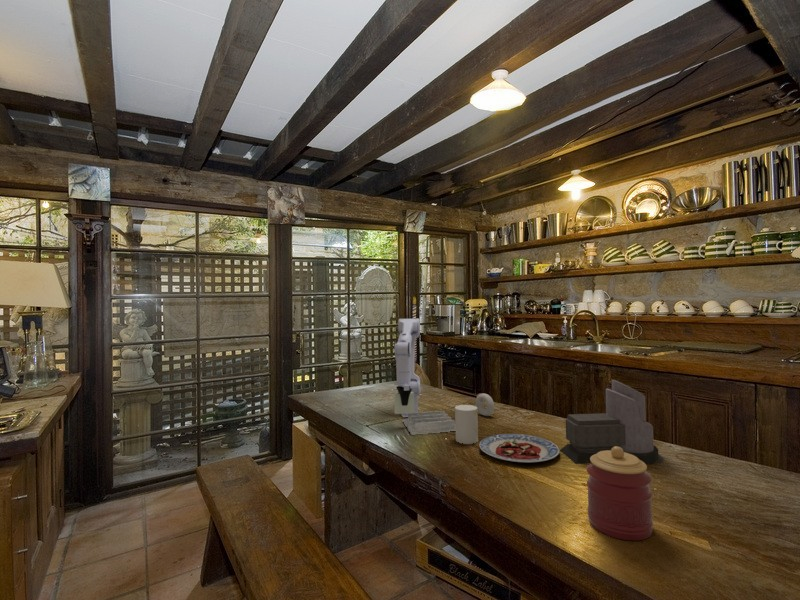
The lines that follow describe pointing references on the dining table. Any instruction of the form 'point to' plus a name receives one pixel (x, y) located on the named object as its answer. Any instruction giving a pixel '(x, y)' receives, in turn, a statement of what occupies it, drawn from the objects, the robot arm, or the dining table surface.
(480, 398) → the donut
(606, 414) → the grey napkin holder
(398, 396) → the grey rectangular block
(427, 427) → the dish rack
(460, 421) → the white cylinder
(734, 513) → the dining table surface
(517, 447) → the ceramic plate
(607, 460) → the canister
